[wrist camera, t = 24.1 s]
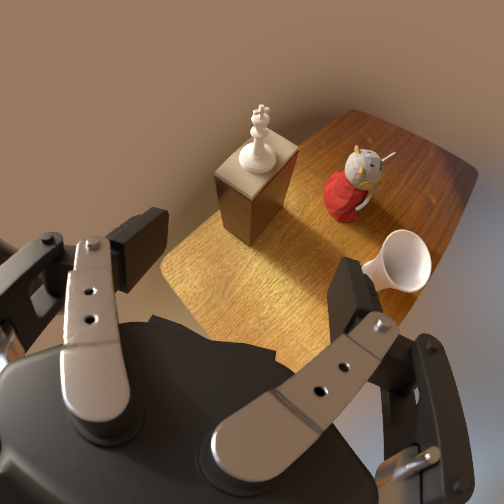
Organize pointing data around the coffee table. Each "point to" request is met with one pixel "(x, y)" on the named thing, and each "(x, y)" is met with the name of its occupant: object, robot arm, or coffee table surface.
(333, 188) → the figurine
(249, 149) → the chess piece
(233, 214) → the rectangular box
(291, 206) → the coffee table surface
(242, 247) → the coffee table surface
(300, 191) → the coffee table surface
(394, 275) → the cup
